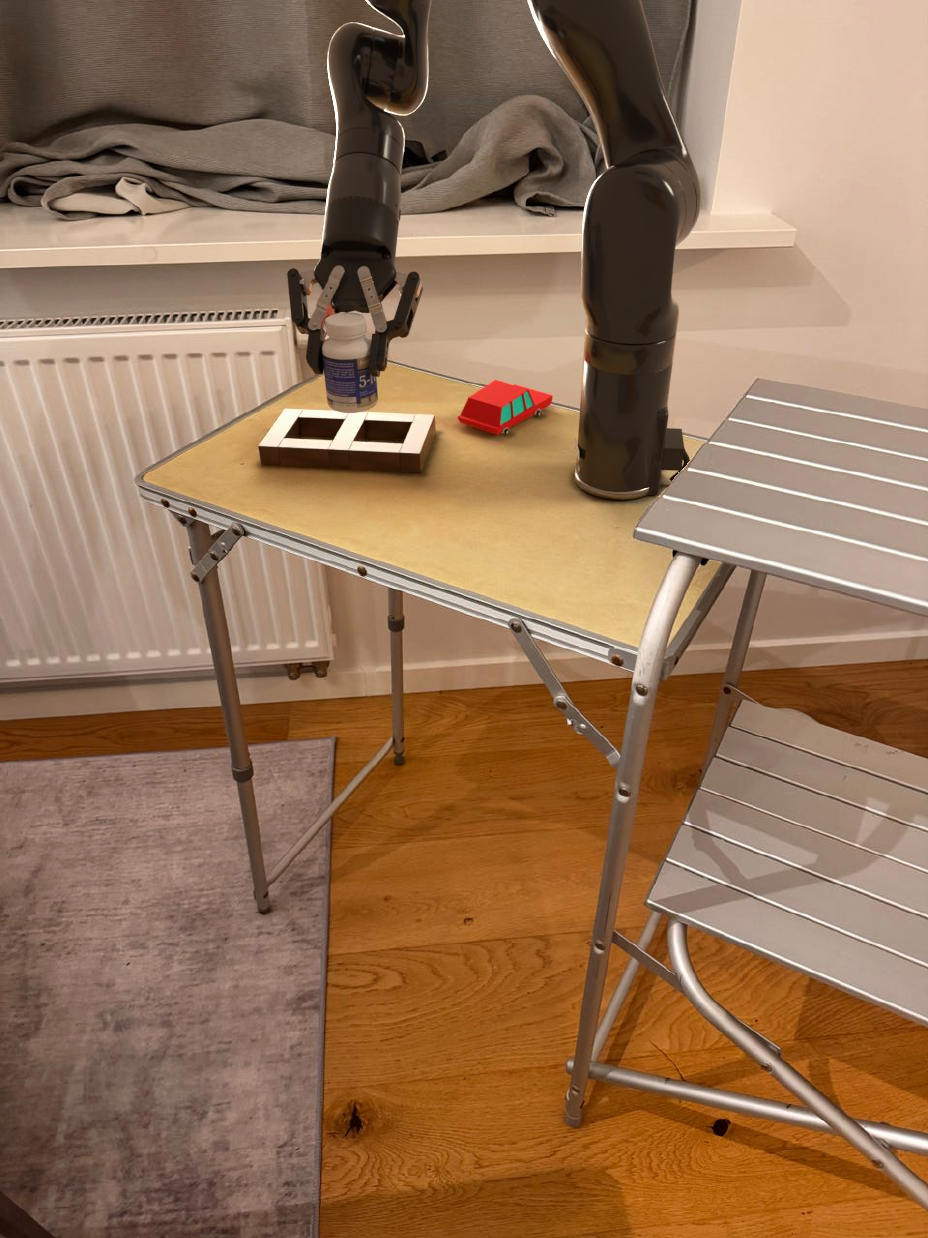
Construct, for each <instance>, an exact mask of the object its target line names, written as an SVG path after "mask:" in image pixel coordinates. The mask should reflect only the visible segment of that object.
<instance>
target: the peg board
mask: <svg viewBox="0 0 928 1238" xmlns="http://www.w3.org/2000/svg"><path fill="white" fill-rule="evenodd" d="M436 432H437V431H436V415H435V414H427V413H424V414H423V413H403V412H402V413H398V412H379V411H378V412H374V411H363V412H358V413H342V412H338V411H335V410H326V409H304V408H303V409H301V408H284V409H283V410H282V412H281V414H280V415H279V416H278V418H277V419H276V420H275V422H274V423H273V425H272V426H271V428H270V429H269V431H268V432H267V433H266V434H265V436H264V437H263V438H262V440H261V442H260V443H259V444H258V445H257V449H258V454H259V459H260V465H261V466H270V467H271V466H272V467H287V468H289V467H290V468H291V467H292V468H309V469H310V468H312V469H329V470H330V469H332V470H352V471H373V472H390V473H391V472H393V473H411V474H412V473H413V474H421V473H422V471H423V468H424V466H425V463H426V460H427V458H428V455H429V453H430V449H431V447H432V444H433V441H434V439H435V435H436ZM301 436H302V437H303V436H304V437H305V436H306V437H326V438H329V437H330V438H334V439H332V440H331V439H311V438H310V439H309V438H300V437H301ZM366 439H367V440H391V441H403V443H401V442H400V443H398V442H396V443H395V442H376V441H366Z"/></svg>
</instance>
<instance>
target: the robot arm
mask: <svg viewBox="0 0 928 1238" xmlns="http://www.w3.org/2000/svg"><path fill="white" fill-rule="evenodd" d="M365 1H366V2H367V4H368V5H370V6H371V7H372V8H373V9H374V10H376V11H377V12H378V13H380V14H381V15H383V16H384V17H386V18H387V19H389V20H391V21H392V22H393V23H395V24H396V25H397V26H398V27H399V28H400V29H401V31H402V33H403V35H399V34H395V33H391V32H388V31H385V30H382V29H379V28H376V27H372V26H369V25H366V24H363V23H359V22H347V23H344V24H343V25H342V26H340V27H339V28H338V29H337V30H336V31H335V33H334V34H333V36H332V37H331V40H330V42H329V46H328V50H327V73H328V74H327V75H328V81H329V87H330V92H331V96H332V101H333V107H334V113H335V123H336V137H335V148H334V149H335V150H334V157H333V164H332V165H333V166H332V171H331V175H330V178H329V182H328V187H327V192H326V193H327V194H326V203H325V212H324V220H323V221H324V222H323V228H322V229H323V230H322V237H321V245H320V258H319V260H318V262H317V264H316V265H315V267H314V269H313V270H308V271H302V272H300V271H299V270H298V269H297V268H295V267H292V268H290V269H288V271H287V272H286V278H287V287H288V298H289V299H288V300H289V308H290V318H291V319H290V320H291V321H292V323H293V325H294V326H295V328H296V329H297V331H298V333H299V334H300V335H307V345H306V352H305V360H306V363H307V365H308V366H309V368H310V369H311V370H312V372H313V373H314V375H323V374H324V367H323V358H322V345H323V343H324V342H325V340H327V339H326V338H327V336H328V335H327V332H326V324H325V320H326V318H327V317H329V316H331V315H334V314H338V313H353V312H356V313H357V312H358V313H360V314H370V317H371V320H372V322H373V327H374V333H371V338H370V339H371V349H370V359H369V371H370V373H371V375H372V377H376V378H379V377H380V376H381V372H385V371H386V369H387V367H388V358H389V347H390V343H391V341H392V340H393V339H395V338H399V337H400V338H402V339H404V338H407V337H408V336H409V335H410V333H411V329H412V326H413V322H414V319H415V316H416V313H417V311H418V307H419V304H420V301H421V298H422V294H423V291H424V287H423V284H422V279H421V277H420V274H419V273H418V271H410V272H409V273H408V274H406V273H401V272H398V271H397V269H396V266H395V265H396V255H397V245H398V237H399V227H400V226H399V225H400V221H401V217H402V215H401V214H402V208H401V207H402V186H401V185H402V173H403V172H402V171H403V162H404V154H405V153H404V152H405V144H406V143H405V141H406V140H405V132H404V128H403V126H402V124H401V123H400V121H398V119H397V118H395V117H394V116H393V115H392V114H394V115H398V116H408V115H410V114H413V113H414V112H415V111H416V110H417V109H418V108H420V106H421V105H422V103H423V102H424V99H425V97H426V94H427V91H428V85H429V84H428V83H429V25H430V24H429V23H430V15H431V9H432V8H431V7H432V1H433V0H365ZM527 4H528V7H529V9H530V13H531V15H532V18H533V20H534V23H535V25H536V28H537V30H538V31H539V34H540V36H541V37H542V39H543V41H544V43H545V44H546V46H547V48H548V49H549V51H550V52H551V55H552V56H553V57H554V59H555V61H556V62H557V63H558V65H559V66H560V69H561V70H562V71H563V72H564V74H565V75H566V77H567V79H568V80H569V81H570V83H571V84H572V86H573V87H574V89H575V90H576V91H577V94H578V95H579V96H580V98H581V99H582V101H583V103H584V105H585V107H586V109H587V111H588V113H589V115H590V118H591V120H592V122H593V126H594V129H595V131H596V134H597V138H598V142H599V145H600V147H601V148H600V149H601V152H602V155H603V160H604V164H605V168H606V169H604V171H603V172H601V174H599V175H598V176H597V178H596V179H595V180H594V182H593V183H592V185H591V187H590V188H589V191H588V193H587V196H586V199H585V202H584V203H585V204H584V208H583V214H582V223H581V242H580V243H581V244H580V283H579V285H580V286H579V287H580V300H581V303H582V307H583V310H584V313H585V324H584V325H585V326H584V329H585V330H584V343H583V344H584V345H583V356H582V357H583V359H582V360H583V361H582V374H581V389H580V402H579V417H578V418H579V419H578V421H579V422H578V431H577V432H578V433H577V438H576V437H574V449H575V453H576V458H575V459H576V460H575V469H574V482H575V483H576V485H577V486H578V488H580V489H581V490H582V491H584V492H585V493H588V494H590V495H593V496H595V497H599V498H603V499H608V500H634V499H639V498H643V497H646V496H650V495H653V496H654V495H655V496H658V495H659V493H660V485H661V478H662V471H671V472H672V471H673V472H675V473H674V474H673V475H672V476H671V477H669V481H670V482H671V481H672V480H673V479H674V477H675V476H676V475H677V474H678V472H680V471H681V470H682V469H683V468H684V467H685V466H686V465H687V463H688V462H689V461H690V462H691V459H690V456H689V454H688V452H687V451H686V448H685V442H684V435H683V429H682V428H676V427H674V428H671V427H668V424H669V415H670V414H669V406H668V403H669V396H670V389H671V381H672V380H671V379H672V372H673V365H674V357H675V356H674V355H675V347H676V341H677V340H676V339H677V332H678V324H679V316H680V307H679V304H678V302H677V301H676V300H675V299H674V297H673V295H672V288H673V276H674V265H675V256H676V255H675V254H676V247H677V246H678V245H680V244H681V243H682V242H683V241H685V240H686V239H687V237H688V236H689V235H690V234H691V233H692V231H693V230H694V228H695V226H696V224H697V223H698V219H699V216H700V212H701V209H702V208H701V206H702V189H701V183H700V180H699V175H698V172H697V170H696V167H695V164H694V162H693V159H692V157H691V153H690V152H689V149H688V147H687V144H686V142H685V139H684V136H683V134H682V131H681V128H680V126H679V124H678V121H677V119H676V117H675V114H674V111H673V109H672V106H671V103H670V101H669V98H668V95H667V92H666V90H665V89H666V88H665V86H664V83H663V80H662V77H661V74H660V70H659V66H658V62H657V58H656V53H655V48H654V45H653V41H652V36H651V33H650V29H649V25H648V21H647V18H646V14H645V10H644V6H643V3H642V0H527ZM316 284H318V286H319V288H320V290H321V293H320V295H319V297H318V299H317V301H316V305H315V310H314V311H313V313H312V315H311V317H309V307H308V298H307V297H308V296H310V295H311V294H312V291H313V287H314V285H316ZM396 287H398V288H397V290H398V293H399V295H400V298H399V301H398V304H397V307H396V311H395V314H394V317H393V319H390V320H387V317H386V313H385V311H384V307H383V304H382V303H383V301H384V300H385V299H386V298H387V297H388V295H389V294H390V293H391V292H392V291H393V290H394V289H395V288H396Z"/></svg>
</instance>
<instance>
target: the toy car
mask: <svg viewBox="0 0 928 1238" xmlns="http://www.w3.org/2000/svg"><path fill="white" fill-rule="evenodd" d="M553 396H554V395H553V394H550V393H547V392H543V391H539V390H536V389H533V388H529V387H526V386H522V385H519V384H511V383H508V382H504V381H502V380H497V379H494V380H493V381H491V382H490V383H487V385H485V386H483V387H482V388H481V389H479V390H477V391H476V392H474V393H473V394H471V395H470V396H468V398H467V400H466V402H465V404H464V406H463V408H462V411H461V412H460V415H458V416H457V419H458V422H459V423H460V424H462V425H465V426H468V427H472V428H475V429H478V430H481V431H484V432H487V433H489V434H493V435H495V436H499V435H500V434H504V435H505V436H506V435H508V434H509V432H510V428H512V427H514V426H516V425H517V424H520V423H522V422H523V421H525V420H526V419H528V418H531V417H532V416H534V415H535V416H537V417H540V416H541V414H542V410H544V409H546V408H548V407H550V406H551V404H552V402H553Z"/></svg>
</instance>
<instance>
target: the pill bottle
mask: <svg viewBox="0 0 928 1238" xmlns="http://www.w3.org/2000/svg"><path fill="white" fill-rule="evenodd" d="M325 324H326V332H327V335H326V336H327V337H328V338H327V339H326V340H325V342H324V343H323V345H322V358H323V367H324V370H323V374H324V384H325V385H324V386H325V395H326V401H327V402H326V403H327V405H328V407H329V408H330V409H331V410H332V411H338V412H342V413H358V412H368V411H369V410H371V409H373V408H374V407H376V406H377V405H378V402H379V391H378V381H377V378H378V377H372V375H371V373H370V371H369V359H370V349H371V339H372V338H369V336H367V335H366V334H367V328H368V327H367V319H366V317H365V315H363V314H362V313H359V312H358V313H357V312H348V313H345V312H341V313H338V314H334V315H331V316H329V317H327V318H326V320H325Z"/></svg>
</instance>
